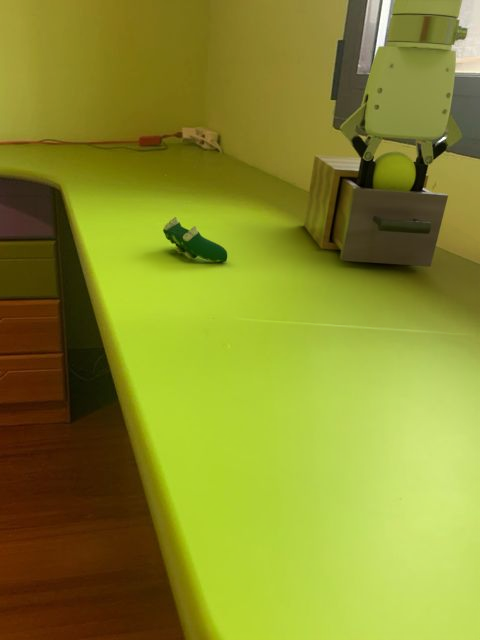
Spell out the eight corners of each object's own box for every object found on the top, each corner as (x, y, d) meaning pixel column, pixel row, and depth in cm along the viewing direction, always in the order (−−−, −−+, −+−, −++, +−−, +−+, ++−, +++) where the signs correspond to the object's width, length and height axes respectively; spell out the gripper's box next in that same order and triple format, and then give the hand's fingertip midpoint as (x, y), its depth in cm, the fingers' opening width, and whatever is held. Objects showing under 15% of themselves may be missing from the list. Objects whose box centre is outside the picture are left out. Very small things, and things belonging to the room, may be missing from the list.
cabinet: (410, 254, 98) (428, 175, 93) (321, 248, 98) (334, 168, 93) (381, 231, 112) (396, 160, 107) (303, 225, 112) (314, 155, 107)
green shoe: (180, 259, 95) (153, 230, 91) (198, 239, 95) (173, 208, 91) (212, 278, 88) (185, 247, 84) (232, 256, 87) (206, 223, 84)
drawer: (442, 276, 85) (461, 201, 81) (348, 270, 85) (363, 195, 81) (399, 240, 102) (413, 177, 98) (320, 235, 102) (331, 172, 98)
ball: (402, 197, 93) (412, 150, 90) (416, 206, 88) (427, 156, 85) (358, 194, 93) (367, 147, 90) (369, 202, 88) (379, 152, 85)
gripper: (480, 41, 85) (443, 193, 93) (341, 31, 85) (317, 185, 93) (505, 39, 78) (463, 203, 87) (355, 29, 78) (327, 194, 87)
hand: (388, 192), depth 90 cm, fingers closed on ball, 5 cm apart
